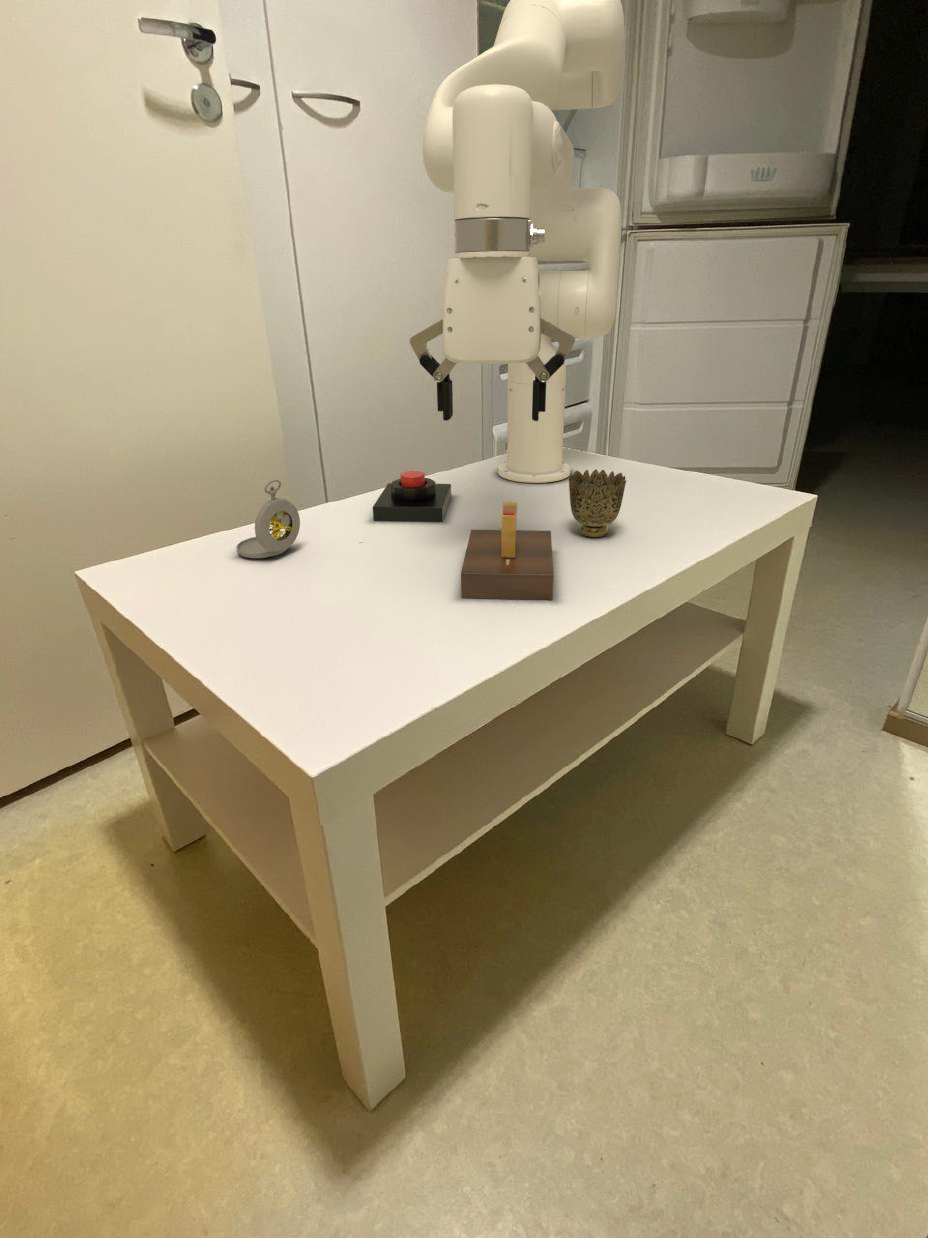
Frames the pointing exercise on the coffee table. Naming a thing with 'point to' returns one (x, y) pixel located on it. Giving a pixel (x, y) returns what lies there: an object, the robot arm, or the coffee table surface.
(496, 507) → the coffee table surface
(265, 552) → the pocket watch
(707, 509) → the coffee table surface
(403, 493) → the black button mount
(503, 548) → the lock turn
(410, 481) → the bell button
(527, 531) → the plate
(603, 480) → the cup
